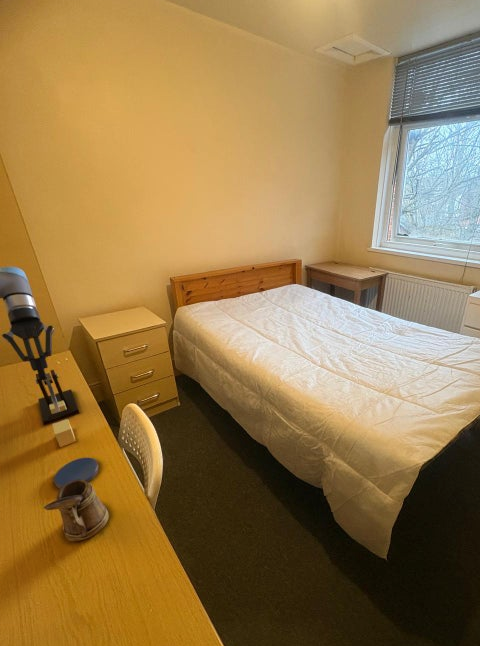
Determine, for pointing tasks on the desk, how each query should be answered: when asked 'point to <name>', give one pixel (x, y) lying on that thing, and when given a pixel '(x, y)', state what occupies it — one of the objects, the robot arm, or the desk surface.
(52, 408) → the cream block
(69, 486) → the wooden mug
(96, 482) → the desk surface
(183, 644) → the desk surface
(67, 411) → the slicer blade
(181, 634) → the desk surface
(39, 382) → the slicer
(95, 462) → the saucer
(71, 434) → the butter block
